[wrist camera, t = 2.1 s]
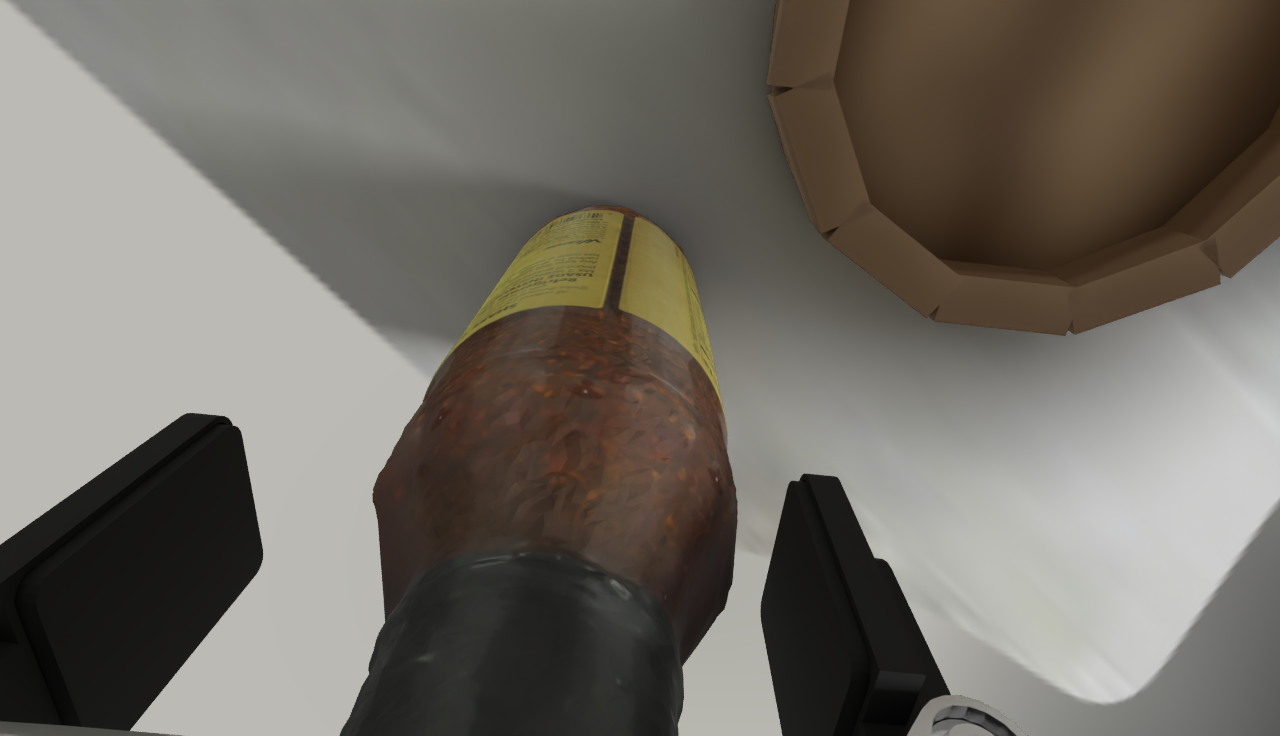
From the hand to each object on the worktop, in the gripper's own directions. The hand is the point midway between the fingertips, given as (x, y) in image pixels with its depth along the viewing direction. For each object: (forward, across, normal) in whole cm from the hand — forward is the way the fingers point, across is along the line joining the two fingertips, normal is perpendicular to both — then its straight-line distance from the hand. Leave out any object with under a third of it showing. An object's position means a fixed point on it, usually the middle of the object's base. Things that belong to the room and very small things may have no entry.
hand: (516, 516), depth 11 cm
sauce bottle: (+13, -1, 0) cm, 13 cm away
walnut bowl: (+12, -13, -9) cm, 20 cm away
